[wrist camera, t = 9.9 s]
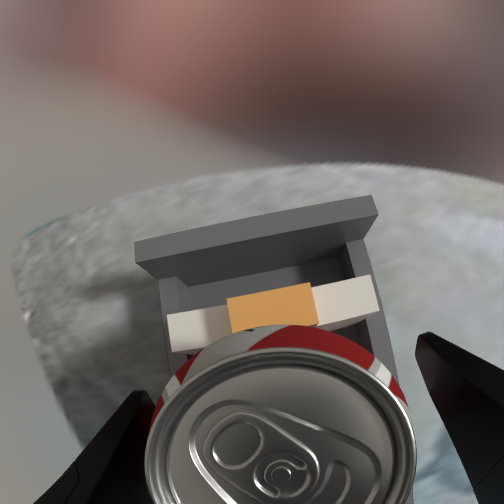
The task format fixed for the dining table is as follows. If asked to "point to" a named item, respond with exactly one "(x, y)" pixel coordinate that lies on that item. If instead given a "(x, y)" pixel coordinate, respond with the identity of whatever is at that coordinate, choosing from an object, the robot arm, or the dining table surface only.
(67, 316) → the dining table surface
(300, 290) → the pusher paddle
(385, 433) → the soda can
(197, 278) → the tray
